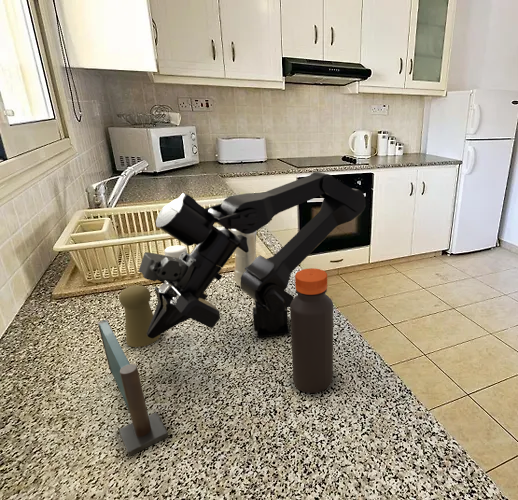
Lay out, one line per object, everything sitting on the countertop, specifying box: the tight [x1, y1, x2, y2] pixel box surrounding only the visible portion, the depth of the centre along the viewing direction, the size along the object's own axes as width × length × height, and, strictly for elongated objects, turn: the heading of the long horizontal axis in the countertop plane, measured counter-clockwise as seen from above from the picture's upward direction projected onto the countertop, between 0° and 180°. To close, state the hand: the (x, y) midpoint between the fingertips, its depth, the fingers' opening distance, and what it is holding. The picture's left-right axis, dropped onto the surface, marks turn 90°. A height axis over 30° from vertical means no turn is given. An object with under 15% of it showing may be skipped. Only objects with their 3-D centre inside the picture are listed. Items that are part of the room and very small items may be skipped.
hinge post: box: [118, 363, 169, 457], centre depth 51 cm, size 5×5×12 cm
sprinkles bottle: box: [163, 244, 188, 258], centre depth 86 cm, size 5×5×14 cm
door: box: [97, 319, 131, 411], centre depth 57 cm, size 1×16×10 cm, turn 42°
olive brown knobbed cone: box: [118, 284, 162, 348], centre depth 72 cm, size 6×6×11 cm
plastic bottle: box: [229, 229, 258, 288], centre depth 93 cm, size 6×7×20 cm
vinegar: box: [289, 267, 334, 394], centre depth 60 cm, size 7×7×20 cm
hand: (149, 336), depth 61 cm, fingers closed
